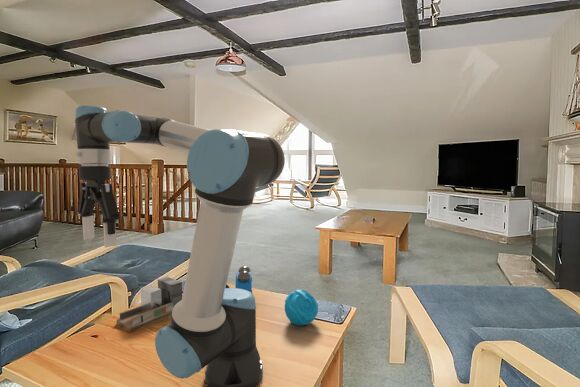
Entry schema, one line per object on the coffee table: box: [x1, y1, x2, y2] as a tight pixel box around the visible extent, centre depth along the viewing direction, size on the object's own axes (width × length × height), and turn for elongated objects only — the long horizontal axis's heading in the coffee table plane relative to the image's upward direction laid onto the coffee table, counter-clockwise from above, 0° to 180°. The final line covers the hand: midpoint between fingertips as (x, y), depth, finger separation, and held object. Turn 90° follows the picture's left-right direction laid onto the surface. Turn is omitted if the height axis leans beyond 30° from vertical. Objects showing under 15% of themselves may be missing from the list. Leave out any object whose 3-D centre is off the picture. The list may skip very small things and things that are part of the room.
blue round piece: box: [284, 289, 319, 327], centre depth 116 cm, size 12×11×12 cm
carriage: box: [140, 284, 162, 313], centre depth 120 cm, size 9×4×9 cm, turn 52°
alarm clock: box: [235, 265, 253, 294], centre depth 130 cm, size 13×6×15 cm, turn 6°
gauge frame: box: [116, 276, 183, 333], centre depth 120 cm, size 10×20×12 cm, turn 142°
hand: (99, 242), depth 91 cm, fingers open, 13 cm apart
